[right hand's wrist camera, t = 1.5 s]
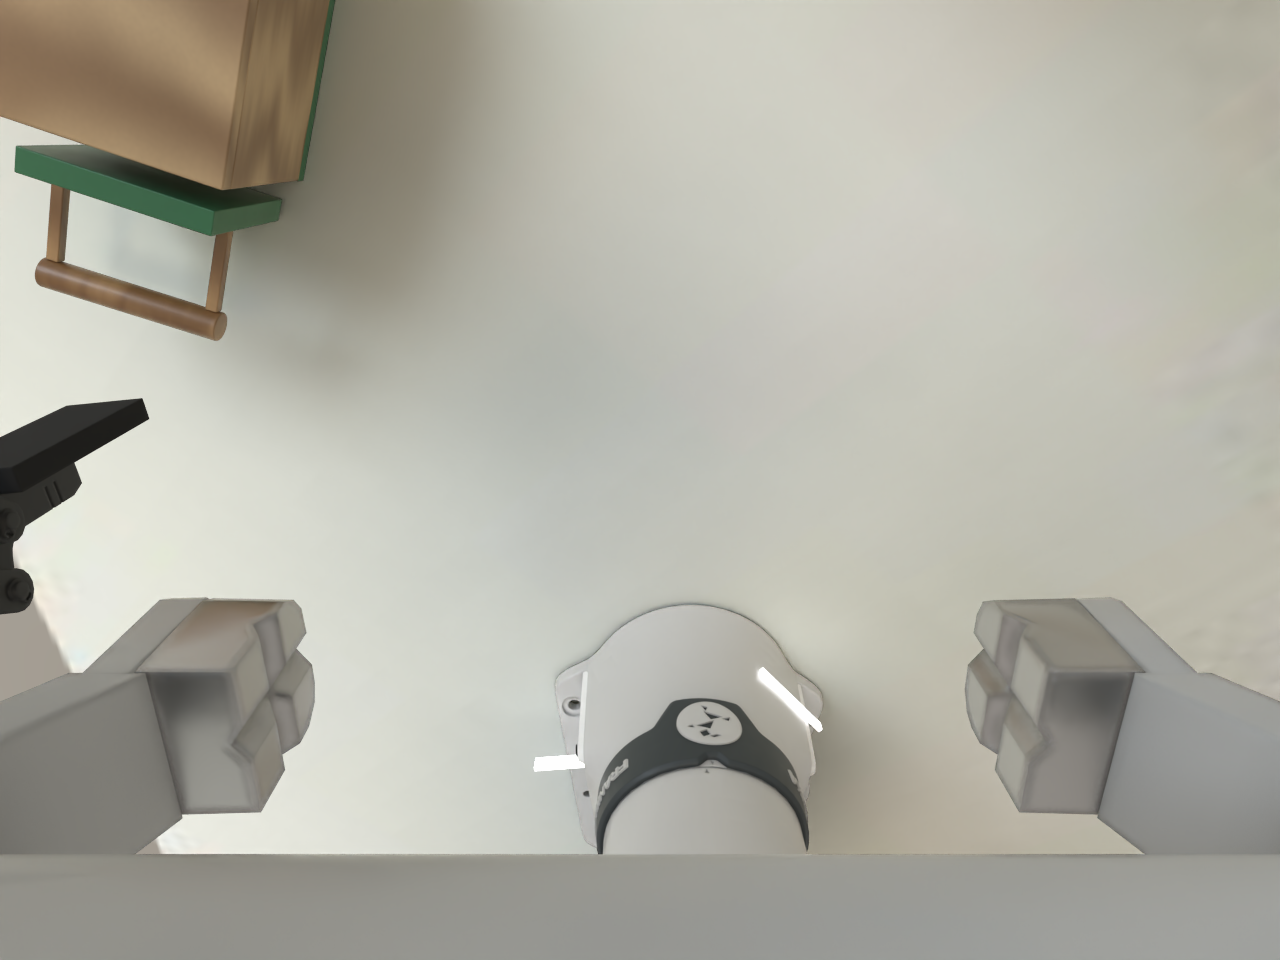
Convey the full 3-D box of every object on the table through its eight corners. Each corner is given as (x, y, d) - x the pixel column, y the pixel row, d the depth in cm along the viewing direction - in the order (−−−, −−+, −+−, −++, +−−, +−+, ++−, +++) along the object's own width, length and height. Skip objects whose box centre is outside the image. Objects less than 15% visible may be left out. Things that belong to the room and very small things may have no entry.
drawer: (261, 320, 49) (194, 353, 42) (104, 270, 48) (7, 294, 41) (333, -102, 42) (266, -155, 34) (147, -173, 40) (36, -243, 33)
